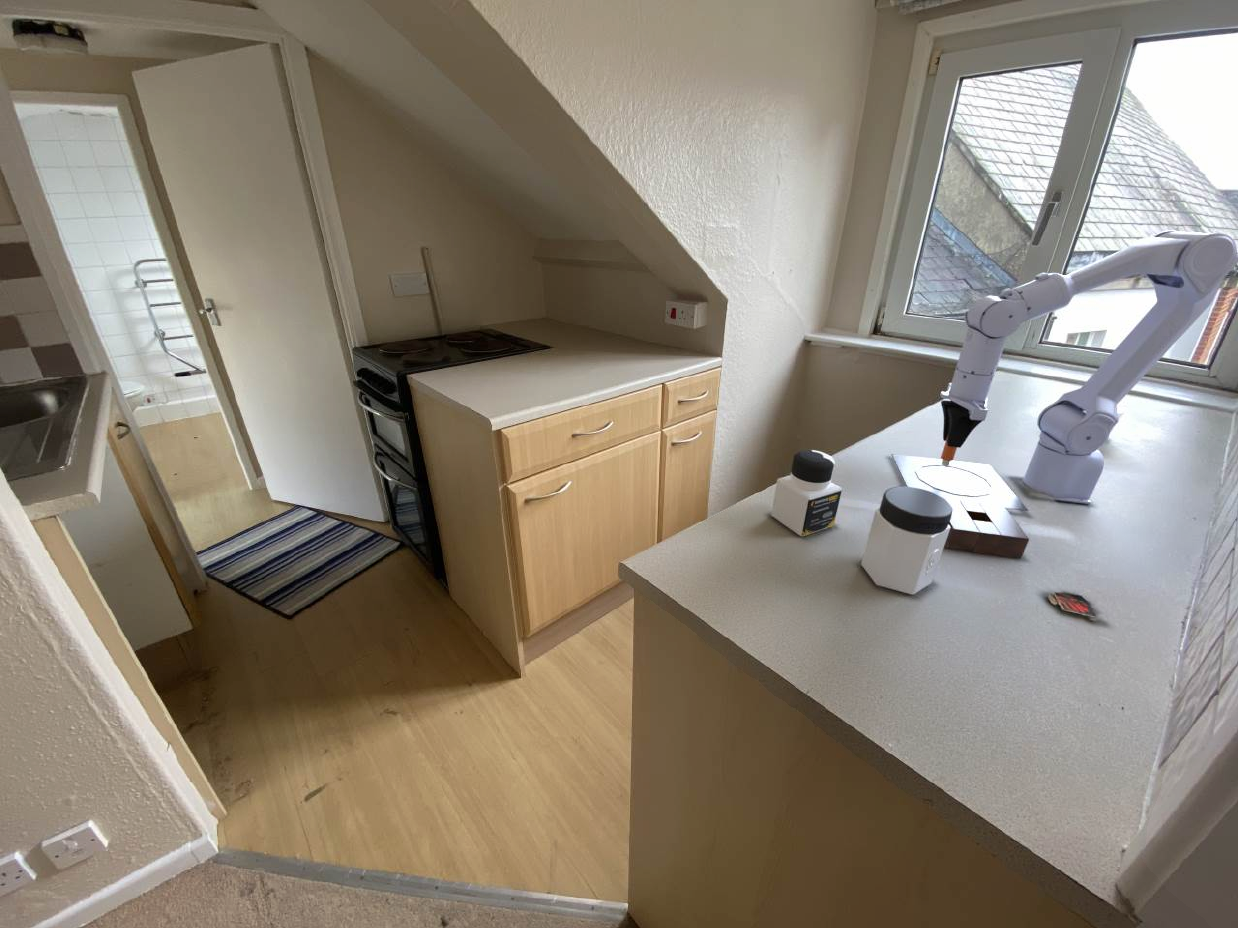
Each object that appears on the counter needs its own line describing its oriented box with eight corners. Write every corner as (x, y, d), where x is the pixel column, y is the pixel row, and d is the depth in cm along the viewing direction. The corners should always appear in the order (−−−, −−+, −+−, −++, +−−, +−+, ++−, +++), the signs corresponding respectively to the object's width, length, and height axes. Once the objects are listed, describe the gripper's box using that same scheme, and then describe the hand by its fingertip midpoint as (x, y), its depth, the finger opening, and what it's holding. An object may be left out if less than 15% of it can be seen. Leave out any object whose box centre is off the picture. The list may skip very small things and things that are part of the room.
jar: (904, 602, 69) (930, 525, 64) (850, 569, 75) (869, 496, 70) (941, 579, 73) (967, 505, 68) (886, 550, 79) (907, 479, 74)
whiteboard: (988, 469, 105) (990, 464, 104) (1026, 515, 89) (1029, 510, 88) (890, 458, 108) (891, 453, 108) (910, 501, 93) (912, 495, 92)
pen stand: (995, 523, 87) (1003, 504, 85) (1021, 558, 78) (1029, 539, 76) (929, 514, 89) (935, 496, 87) (946, 548, 80) (953, 528, 79)
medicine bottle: (801, 537, 82) (815, 469, 77) (770, 515, 88) (780, 450, 82) (834, 526, 85) (850, 459, 80) (801, 506, 91) (814, 442, 85)
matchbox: (1079, 595, 71) (1080, 592, 70) (1105, 622, 66) (1107, 619, 66) (1041, 591, 71) (1042, 588, 71) (1065, 618, 67) (1066, 615, 66)
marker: (949, 462, 98) (965, 412, 94) (952, 467, 97) (969, 416, 92) (937, 461, 99) (952, 411, 94) (940, 466, 97) (956, 415, 93)
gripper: (937, 358, 97) (918, 426, 103) (962, 381, 84) (938, 457, 91) (980, 361, 95) (958, 430, 102) (1012, 385, 83) (984, 462, 89)
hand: (951, 443), depth 96 cm, fingers closed on marker, 2 cm apart
